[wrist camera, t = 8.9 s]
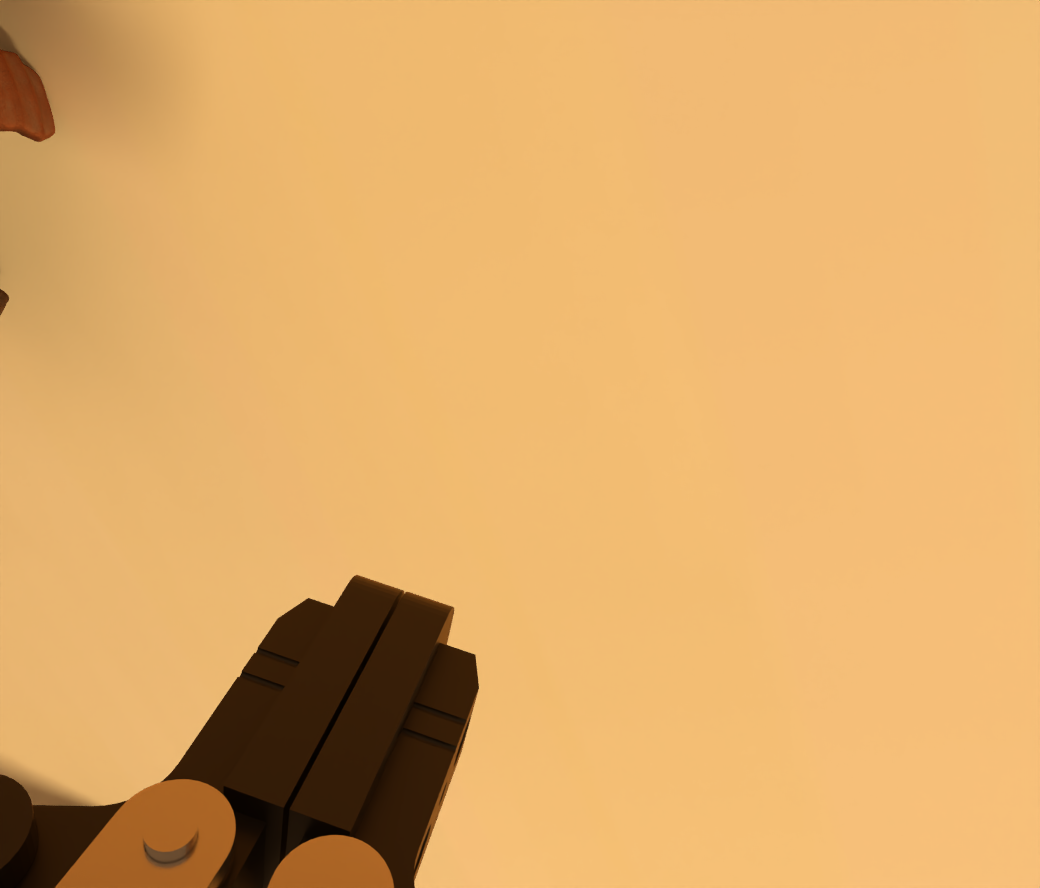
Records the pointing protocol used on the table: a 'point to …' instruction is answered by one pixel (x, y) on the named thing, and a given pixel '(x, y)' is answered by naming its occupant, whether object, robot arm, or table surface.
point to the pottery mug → (22, 107)
